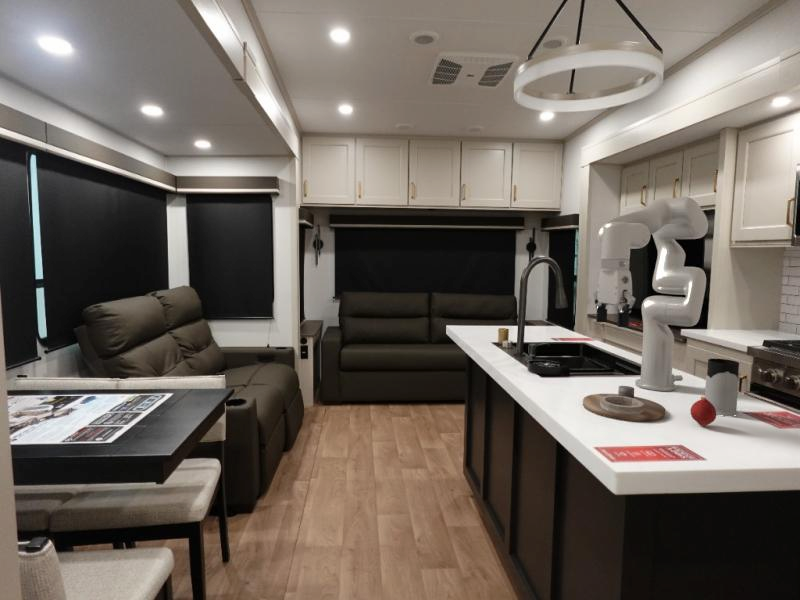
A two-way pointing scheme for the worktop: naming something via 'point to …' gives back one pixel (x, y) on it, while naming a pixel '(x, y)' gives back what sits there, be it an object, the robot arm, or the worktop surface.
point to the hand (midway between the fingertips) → (611, 324)
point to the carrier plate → (643, 417)
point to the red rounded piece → (703, 412)
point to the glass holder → (722, 385)
